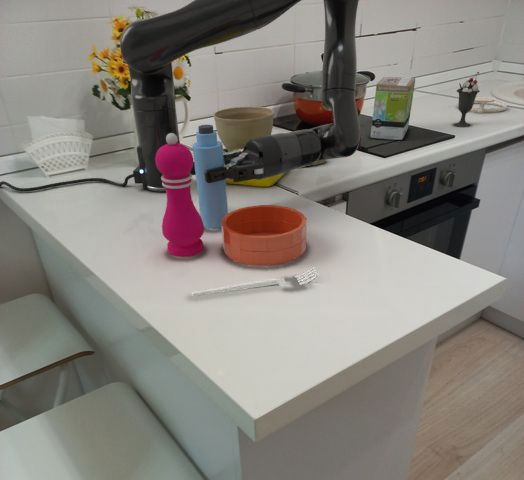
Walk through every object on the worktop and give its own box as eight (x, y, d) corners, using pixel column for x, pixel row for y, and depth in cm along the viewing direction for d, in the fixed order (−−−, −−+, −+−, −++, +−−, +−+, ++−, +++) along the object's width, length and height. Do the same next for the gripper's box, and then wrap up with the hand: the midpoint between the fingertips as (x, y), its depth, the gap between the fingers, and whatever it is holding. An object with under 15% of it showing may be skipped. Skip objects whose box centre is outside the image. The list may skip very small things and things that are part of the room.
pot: (217, 267, 84) (214, 237, 81) (230, 232, 96) (228, 204, 92) (304, 269, 83) (305, 238, 79) (306, 233, 94) (307, 205, 91)
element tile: (270, 188, 116) (270, 167, 113) (212, 182, 120) (210, 162, 118) (290, 169, 127) (290, 149, 124) (236, 164, 132) (235, 145, 129)
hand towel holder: (510, 91, 182) (509, 102, 166) (507, 104, 184) (506, 116, 169) (461, 89, 187) (456, 99, 172) (459, 102, 190) (453, 113, 174)
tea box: (403, 140, 147) (411, 84, 138) (369, 138, 150) (374, 83, 141) (408, 129, 158) (416, 76, 150) (376, 127, 161) (382, 75, 152)
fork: (190, 292, 77) (189, 282, 76) (314, 276, 81) (314, 265, 80) (193, 303, 75) (191, 292, 74) (320, 285, 78) (321, 274, 77)
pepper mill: (171, 264, 85) (153, 141, 74) (161, 248, 91) (142, 131, 79) (211, 256, 88) (200, 135, 76) (199, 240, 93) (186, 125, 81)
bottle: (199, 229, 96) (187, 130, 86) (204, 218, 101) (193, 123, 90) (226, 229, 96) (218, 129, 85) (230, 218, 100) (223, 122, 90)
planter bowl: (225, 146, 147) (222, 106, 141) (279, 147, 144) (278, 106, 138) (209, 162, 135) (205, 118, 128) (268, 164, 132) (267, 119, 125)
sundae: (477, 125, 160) (488, 72, 151) (463, 128, 157) (474, 74, 148) (460, 121, 164) (470, 70, 155) (446, 124, 161) (455, 72, 152)
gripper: (251, 128, 101) (176, 144, 94) (295, 142, 91) (215, 160, 84) (253, 166, 106) (182, 184, 98) (295, 183, 96) (219, 204, 88)
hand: (197, 173), depth 91 cm, fingers closed on bottle, 5 cm apart
